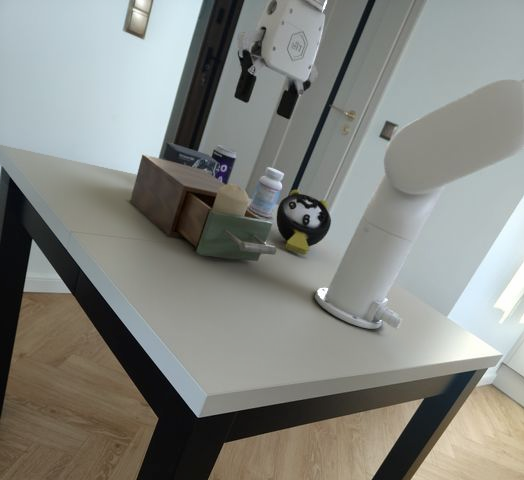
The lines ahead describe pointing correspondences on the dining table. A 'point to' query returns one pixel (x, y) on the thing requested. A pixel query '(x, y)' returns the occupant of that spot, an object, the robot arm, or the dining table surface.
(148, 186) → the cabinet
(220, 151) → the beverage can
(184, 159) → the box
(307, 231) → the alarm clock
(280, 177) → the pill bottle
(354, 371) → the dining table surface
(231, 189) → the candle
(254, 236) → the drawer
